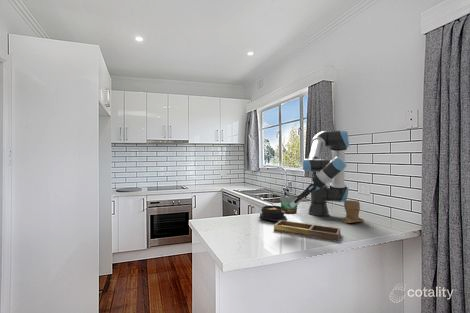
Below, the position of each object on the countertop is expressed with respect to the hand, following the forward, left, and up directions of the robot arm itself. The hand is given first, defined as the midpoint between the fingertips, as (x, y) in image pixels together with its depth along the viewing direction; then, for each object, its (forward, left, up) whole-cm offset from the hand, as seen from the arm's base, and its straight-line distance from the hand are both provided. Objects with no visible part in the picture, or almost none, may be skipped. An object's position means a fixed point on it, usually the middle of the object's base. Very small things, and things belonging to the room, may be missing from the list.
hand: (293, 204), depth 151 cm
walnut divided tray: (-1, +8, -16) cm, 18 cm away
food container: (+1, -1, -5) cm, 6 cm away
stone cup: (-42, +29, -16) cm, 54 cm away
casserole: (-20, -20, -16) cm, 33 cm away
